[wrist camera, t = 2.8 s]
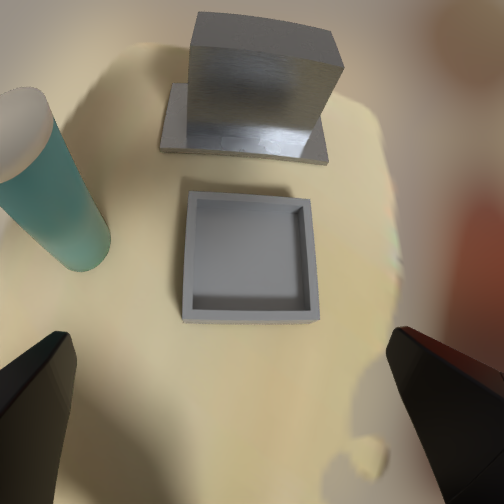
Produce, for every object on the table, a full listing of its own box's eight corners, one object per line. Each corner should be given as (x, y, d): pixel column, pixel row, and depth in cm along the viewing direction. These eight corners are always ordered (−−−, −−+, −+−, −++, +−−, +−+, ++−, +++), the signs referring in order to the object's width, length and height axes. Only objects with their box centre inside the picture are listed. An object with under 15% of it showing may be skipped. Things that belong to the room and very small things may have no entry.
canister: (106, 273, 21) (23, 168, 9) (52, 270, 20) (-54, 175, 8) (114, 215, 22) (61, 81, 10) (62, 214, 21) (-15, 94, 9)
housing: (326, 165, 27) (376, 88, 18) (160, 151, 24) (153, 58, 16) (314, 102, 30) (349, 28, 21) (172, 87, 27) (174, 2, 18)
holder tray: (309, 323, 22) (319, 319, 20) (183, 322, 21) (182, 319, 19) (301, 211, 25) (310, 199, 23) (188, 204, 23) (188, 190, 22)
